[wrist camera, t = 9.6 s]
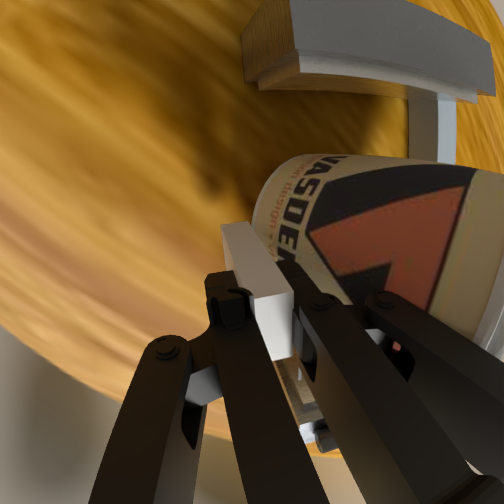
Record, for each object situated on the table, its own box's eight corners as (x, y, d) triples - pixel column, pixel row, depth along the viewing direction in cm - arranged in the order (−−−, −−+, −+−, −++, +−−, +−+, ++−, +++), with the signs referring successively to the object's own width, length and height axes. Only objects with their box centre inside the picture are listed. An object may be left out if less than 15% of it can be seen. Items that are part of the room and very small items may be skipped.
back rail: (382, 334, 25) (399, 354, 22) (404, 54, 14) (433, 50, 12) (398, 328, 25) (415, 347, 22) (423, 60, 15) (452, 57, 12)
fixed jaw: (245, 93, 14) (296, 66, 7) (240, 35, 13) (285, -29, 6) (403, 100, 16) (496, 107, 9) (399, 53, 14) (489, 43, 7)
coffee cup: (284, 104, 13) (550, 130, 4) (363, 185, 19) (524, 231, 11) (205, 280, 13) (457, 445, 5) (313, 306, 20) (467, 389, 11)
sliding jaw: (267, 363, 22) (305, 465, 14) (265, 330, 21) (309, 443, 12) (383, 330, 24) (442, 404, 15) (390, 299, 22) (461, 373, 14)
